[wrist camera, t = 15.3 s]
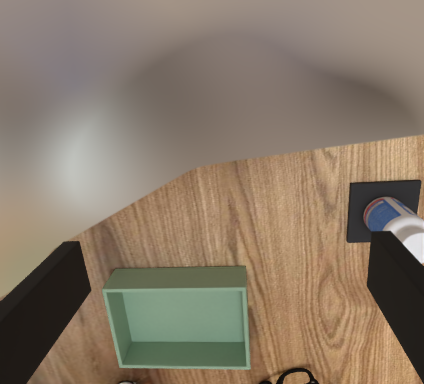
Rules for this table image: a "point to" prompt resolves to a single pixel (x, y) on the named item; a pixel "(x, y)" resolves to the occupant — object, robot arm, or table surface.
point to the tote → (179, 317)
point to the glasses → (312, 383)
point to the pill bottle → (397, 223)
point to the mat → (370, 191)
